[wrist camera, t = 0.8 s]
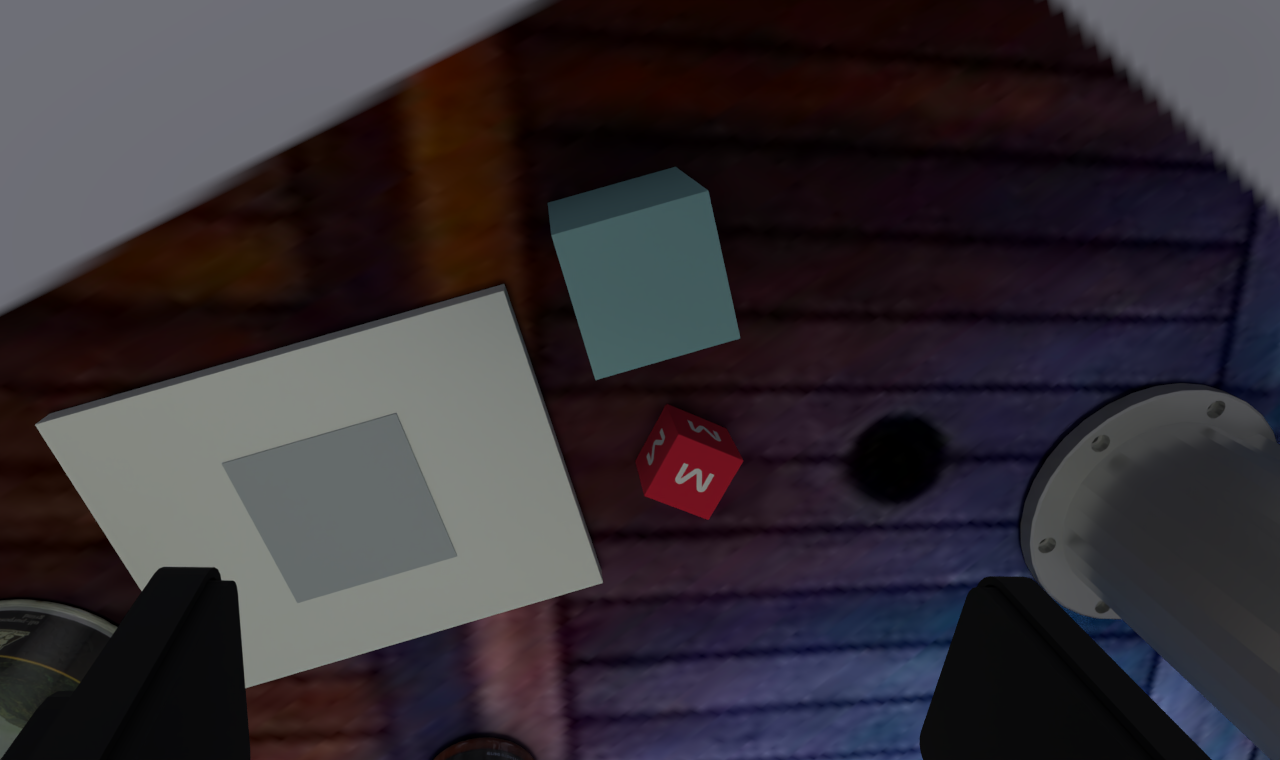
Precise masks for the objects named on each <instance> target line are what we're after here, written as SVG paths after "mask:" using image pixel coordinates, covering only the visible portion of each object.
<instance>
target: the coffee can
mask: <svg viewBox="0 0 1280 760" xmlns="http://www.w3.org/2000/svg"><path fill="white" fill-rule="evenodd" d="M117 628H118V627H117V626H115V625H113V624H111V623H110V622H108V621H106V620H105V619H103V618H101V617H99V616H96V615H94V614H92V613H90V612H87V611H84V610H81V609H78V608H75V607H72V606H68V605H63V604H59V603H54V602H47V601H40V600H30V599H15V600H1V601H0V759H1V758H2V757H3V755H4V754H5V752H6V751H7V750H8V748H9V747H10V745H11V744H12V743H13V741H14V740H15V738H16V737H17V736H18V734H19V733H20V731H21V730H22V729H23V727H24V726H25V725H26V723H27V722H28V720H29V719H30V718H31V716H32V715H33V713H34V712H35V711H36V709H37V708H38V707H39V706H40V705H41V704H42V703H43V701H44V700H45V699H46V698H47V697H48V696H50V695H52V694H53V693H55V692H57V691H75V689H76V688H77V686H78V685H79V684H80V682H81V681H82V679H83V678H84V676H85V675H86V673H87V672H88V670H89V669H90V667H91V666H92V664H93V663H94V661H95V660H96V658H97V657H98V656H99V654H100V653H101V651H102V650H103V648H104V647H105V645H106V644H107V642H108V641H109V639H110V638H111V636H112V635H113V633H114V632H115V630H116V629H117Z"/></svg>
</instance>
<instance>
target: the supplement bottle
mask: <svg viewBox="0 0 1280 760" xmlns="http://www.w3.org/2000/svg"><path fill="white" fill-rule="evenodd" d="M433 760H534V759H533V758H532V757H531V755H530V754H529V753H528V752H527V751H526V750H525V749H523V748H522V747H520V746H519V745H517V744H515V743H513V742H511V741H507V740H503V739H497V738H489V737H487V738H486V737H483V738H475V739H469V740H466V741H461V742H458V743H456V744H453V745H452V746H450V747H448V748H446V749H445V750H443V751H442V752H441V753H439V754H438V755H437V756H436V757H435V758H434V759H433Z"/></svg>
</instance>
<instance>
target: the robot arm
mask: <svg viewBox="0 0 1280 760" xmlns="http://www.w3.org/2000/svg"><path fill="white" fill-rule="evenodd" d="M1021 547H1022V551H1023V555H1024V559H1025V563H1026V565H1027V567H1028V568H1029V570H1030V572H1031V574H1032V576H1033V577H1034V579H1035V580H1036V581H1037V582H1038V583H1039V584H1040V585H1041V587H1042V588H1043V589H1044V590H1045V591H1046V592H1047V593H1048V594H1049V595H1050V596H1051V597H1052V598H1053V599H1055V600H1056V601H1057V602H1058V603H1060V604H1061V605H1062V606H1063V607H1065V608H1068V609H1070V610H1072V611H1074V612H1076V613H1078V614H1081V615H1085V616H1089V617H1093V618H1099V619H1122V620H1124V621H1125V622H1126V623H1127V624H1128V625H1129V626H1130V627H1131V628H1132V629H1133V630H1134V631H1135V632H1136V633H1137V634H1138V635H1139V636H1140V637H1142V638H1143V639H1144V640H1145V641H1146V642H1147V643H1148V644H1149V645H1150V646H1151V647H1152V648H1153V649H1154V650H1155V651H1156V652H1157V653H1158V654H1160V655H1161V656H1162V657H1163V658H1164V659H1165V660H1166V661H1167V662H1168V663H1169V664H1170V665H1171V666H1172V667H1173V668H1174V669H1175V670H1176V671H1178V672H1179V673H1180V674H1181V675H1182V676H1183V677H1184V678H1185V679H1186V680H1187V681H1188V682H1189V683H1190V684H1191V685H1192V686H1193V687H1194V688H1196V689H1197V690H1198V691H1199V692H1200V693H1201V694H1202V695H1203V696H1204V697H1205V698H1206V699H1207V700H1208V701H1209V702H1210V703H1211V704H1212V705H1214V706H1215V707H1216V708H1217V709H1218V710H1219V711H1220V712H1221V713H1222V714H1223V715H1224V716H1225V717H1226V718H1227V719H1228V720H1229V721H1230V722H1232V723H1233V724H1234V725H1235V726H1236V727H1237V728H1238V729H1239V730H1240V731H1241V732H1242V733H1243V734H1244V735H1245V736H1246V737H1247V738H1248V739H1249V740H1251V741H1252V742H1253V743H1254V744H1255V745H1256V746H1257V747H1258V748H1259V749H1260V750H1261V751H1262V752H1263V753H1264V754H1265V755H1266V756H1267V757H1269V758H1270V759H1271V760H1280V445H1279V444H1277V441H1276V438H1275V435H1274V432H1273V430H1272V429H1271V427H1270V426H1269V424H1268V423H1267V421H1266V420H1265V418H1264V417H1263V415H1262V414H1260V413H1259V412H1258V411H1257V410H1256V409H1254V408H1253V407H1252V406H1251V405H1250V404H1248V403H1247V402H1245V401H1243V400H1241V399H1239V398H1237V397H1235V396H1233V395H1231V394H1229V393H1227V392H1225V391H1222V390H1219V389H1216V388H1213V387H1209V386H1206V385H1200V384H1188V383H1177V384H1168V385H1159V386H1154V387H1151V388H1148V389H1144V390H1141V391H1137V392H1134V393H1131V394H1129V395H1127V396H1125V397H1123V398H1121V399H1118V400H1116V401H1114V402H1112V403H1110V404H1108V405H1106V406H1105V407H1103V408H1102V409H1100V410H1099V411H1097V412H1096V413H1094V414H1093V415H1091V416H1090V417H1088V418H1087V419H1085V420H1084V421H1083V422H1082V423H1081V424H1079V425H1078V426H1077V427H1076V428H1075V429H1074V430H1073V431H1072V432H1070V433H1069V434H1068V435H1067V436H1066V437H1065V438H1064V439H1063V440H1062V441H1061V442H1060V444H1059V445H1058V446H1057V447H1056V448H1055V450H1054V451H1053V452H1052V453H1051V454H1050V456H1049V457H1048V458H1047V459H1046V461H1045V463H1044V464H1043V466H1042V468H1041V469H1040V471H1039V473H1038V474H1037V476H1036V477H1035V479H1034V481H1033V483H1032V486H1031V488H1030V491H1029V493H1028V496H1027V498H1026V501H1025V504H1024V509H1023V514H1022V519H1021ZM1041 587H1040V586H1039V585H1038V584H1037V583H1036V582H1035V581H1033V580H1032V579H1030V578H1026V577H991V576H990V577H986V578H984V579H982V580H981V581H980V582H979V584H978V586H977V587H976V588H973V589H971V590H970V591H969V593H968V595H967V597H966V600H965V603H964V606H963V609H962V612H961V615H960V618H959V621H958V624H957V627H956V630H955V633H954V636H953V639H952V642H951V645H950V648H949V651H948V654H947V656H946V659H945V662H944V665H943V668H942V671H941V674H940V677H939V680H938V683H937V686H936V689H935V692H934V695H933V698H932V701H931V704H930V707H929V710H928V713H927V716H926V718H925V721H924V724H923V727H922V730H921V734H920V750H921V754H922V758H923V760H1211V759H1210V758H1209V757H1208V756H1207V755H1206V754H1205V753H1204V752H1203V751H1202V749H1201V748H1200V747H1199V746H1198V745H1197V744H1196V743H1195V742H1194V741H1193V740H1192V739H1191V738H1190V737H1189V736H1188V735H1187V734H1186V733H1185V732H1184V731H1183V730H1182V729H1181V728H1180V727H1179V726H1178V725H1177V724H1176V723H1175V722H1174V721H1173V720H1172V719H1171V718H1170V717H1169V716H1168V715H1167V714H1166V713H1165V712H1164V711H1163V710H1162V709H1161V708H1160V707H1159V706H1158V705H1157V704H1156V703H1155V702H1154V701H1153V700H1152V699H1151V698H1150V697H1149V696H1148V695H1147V694H1146V693H1145V692H1144V691H1143V690H1142V689H1141V688H1140V687H1139V686H1138V685H1137V684H1136V683H1135V682H1134V681H1133V680H1132V679H1131V678H1130V677H1129V676H1128V675H1127V674H1126V673H1125V672H1124V671H1123V670H1122V669H1121V668H1120V667H1119V666H1118V665H1117V664H1116V663H1115V662H1114V661H1113V660H1112V659H1111V658H1110V657H1109V656H1108V655H1107V654H1106V653H1105V651H1104V650H1103V649H1102V648H1101V647H1100V646H1099V645H1098V644H1097V643H1096V642H1095V641H1094V640H1093V639H1092V638H1091V637H1090V636H1089V635H1088V634H1087V633H1086V632H1085V631H1084V630H1083V629H1082V628H1081V627H1080V626H1079V625H1078V624H1077V623H1076V622H1075V621H1074V620H1073V619H1072V618H1071V617H1070V616H1069V615H1068V614H1067V613H1066V612H1065V611H1064V610H1063V609H1062V608H1061V607H1060V606H1059V605H1058V604H1057V603H1056V602H1055V601H1054V600H1053V599H1052V598H1051V597H1050V596H1049V595H1048V594H1047V593H1046V592H1045V591H1044V590H1043V589H1042V588H1041ZM0 760H250V742H249V729H248V716H247V703H246V691H245V678H244V665H243V652H242V639H241V626H240V614H239V601H238V590H237V585H236V583H235V581H233V580H221V575H220V573H219V570H218V569H217V568H215V567H162V568H159V569H158V570H157V571H156V572H155V573H154V574H153V576H152V577H151V579H150V580H149V582H148V583H147V585H146V586H145V588H144V589H143V591H142V592H141V594H140V595H139V597H138V598H137V600H136V601H135V602H134V604H133V605H132V607H131V608H130V610H129V611H128V613H127V614H126V616H125V617H124V619H123V620H122V622H121V623H120V625H119V626H118V628H117V629H116V630H115V632H114V633H113V635H112V636H111V638H110V639H109V641H108V642H107V644H106V645H105V647H104V648H103V650H102V651H101V653H100V654H99V656H98V657H97V658H96V660H95V661H94V663H93V664H92V666H91V667H90V669H89V670H88V672H87V673H86V675H85V676H84V678H83V679H82V681H81V682H80V684H79V685H78V686H77V688H76V689H75V691H57V692H55V693H53V694H52V695H50V696H48V697H47V698H46V699H45V700H44V701H43V703H42V704H41V705H40V706H39V707H38V708H37V709H36V711H35V712H34V713H33V715H32V716H31V718H30V719H29V720H28V722H27V723H26V725H25V726H24V727H23V729H22V730H21V731H20V733H19V734H18V736H17V737H16V738H15V740H14V741H13V743H12V744H11V745H10V747H9V748H8V750H7V751H6V752H5V754H4V755H3V757H2V758H1V759H0Z"/></svg>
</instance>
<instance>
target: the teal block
mask: <svg viewBox="0 0 1280 760" xmlns="http://www.w3.org/2000/svg"><path fill="white" fill-rule="evenodd" d="M548 210H549V219H550V228H551V236H552V239H553V242H554V246H555V249H556V252H557V255H558V259H559V262H560V265H561V269H562V272H563V275H564V278H565V282H566V285H567V288H568V291H569V295H570V298H571V301H572V305H573V308H574V311H575V314H576V318H577V321H578V324H579V328H580V331H581V334H582V337H583V341H584V344H585V347H586V351H587V354H588V357H589V360H590V364H591V367H592V370H593V374H594V377H595V380H598V379H601V378H604V377H608V376H611V375H615V374H618V373H622V372H625V371H629V370H632V369H636V368H639V367H643V366H646V365H650V364H653V363H657V362H660V361H663V360H667V359H670V358H674V357H677V356H681V355H684V354H688V353H691V352H695V351H698V350H702V349H705V348H709V347H712V346H715V345H719V344H722V343H726V342H729V341H733V340H736V339H740V334H739V330H738V325H737V320H736V316H735V311H734V307H733V302H732V297H731V293H730V288H729V284H728V279H727V274H726V270H725V265H724V261H723V256H722V251H721V247H720V242H719V238H718V233H717V228H716V224H715V219H714V215H713V210H712V205H711V201H710V196H709V192H708V190H707V189H705V188H704V187H703V186H701V185H700V184H699V183H697V182H696V181H694V180H693V179H692V178H690V177H689V176H688V175H686V174H685V173H683V172H682V171H681V170H679V169H678V168H677V167H673V168H669V169H666V170H662V171H659V172H655V173H652V174H648V175H644V176H641V177H637V178H634V179H630V180H627V181H623V182H620V183H616V184H613V185H609V186H606V187H602V188H599V189H595V190H592V191H588V192H584V193H581V194H577V195H574V196H570V197H567V198H563V199H560V200H556V201H553V202H549V203H548Z"/></svg>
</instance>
